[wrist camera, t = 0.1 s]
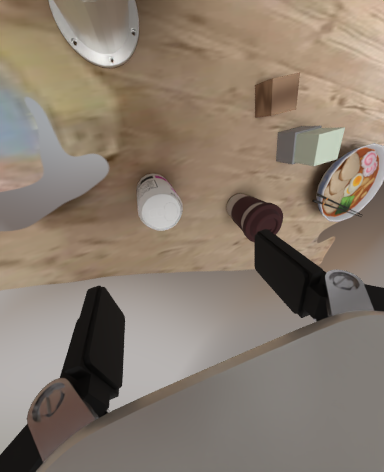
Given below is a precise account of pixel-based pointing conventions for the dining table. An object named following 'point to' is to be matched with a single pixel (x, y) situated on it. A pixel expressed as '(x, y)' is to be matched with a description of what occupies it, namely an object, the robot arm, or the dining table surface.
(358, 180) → the ramen bowl
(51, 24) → the dining table surface
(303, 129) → the tower base
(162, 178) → the supplement can
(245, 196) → the coffee cup
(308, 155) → the tower mid
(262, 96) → the walnut cube
